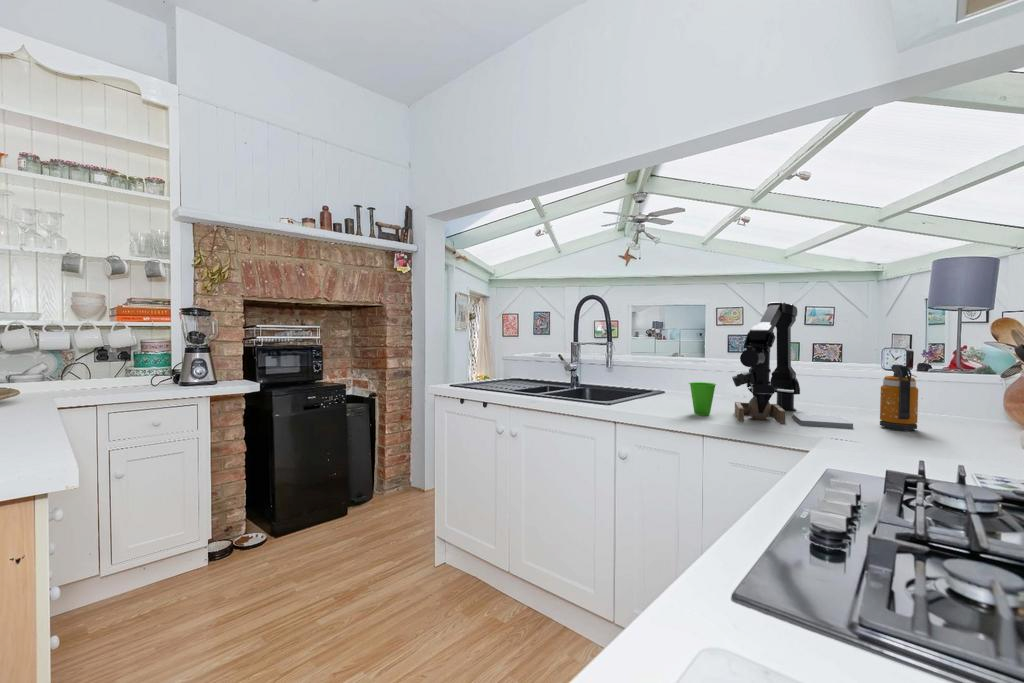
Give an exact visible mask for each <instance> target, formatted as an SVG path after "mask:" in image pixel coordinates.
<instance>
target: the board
mask: <svg viewBox="0 0 1024 683" xmlns="http://www.w3.org/2000/svg"><path fill="white" fill-rule="evenodd" d="M791 418H792V419H793V421H796V422H797V423H798V424H799V425H800V426H812V427H826V428H839V429H841V428H842V429H854V423H853V422H852V421H850V420H847V419H846V418H844V417H842V416H841V415H834V414H833V415H831V414H813V413H800V412H799V413H798V412H797V413H796V412H792V413H791Z"/></svg>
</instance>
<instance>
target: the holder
mask: <svg viewBox="0 0 1024 683" xmlns="http://www.w3.org/2000/svg"><path fill="white" fill-rule="evenodd" d="M748 404H749V402H745V401H744V402H743V401H742V402H741V401H739V402H738V401H734V414H735V416H736V418H737V420H738V421H739V420H742V422H743V421H745V415H749V412H748ZM770 406H771V412H770V415H769V417H774V419H775V420H776V421H777V422H778V423H779V424H786V412H787V410H783V409H782V408H781V407H780V406H779V405H778V404H777V403H770Z"/></svg>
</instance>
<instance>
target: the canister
mask: <svg viewBox="0 0 1024 683" xmlns="http://www.w3.org/2000/svg"><path fill="white" fill-rule="evenodd" d="M890 369H891V370H892V373H893V375H885V376H884V377H883V379H882V380H883V381H882V385H880V400H879V401H880V402H879V403H880V405H879V407H880V408H879V409H880V410H879V426H882V427H884V428H885V429H887V430H892V431H902V432H903V431H904V432H911V431H912V430H918V415H919V414H918V413H919V410H918V409H919V388H918V387H917V381H916V378H917V377H918V376H917V375H914V374H912V372H911V369H910V367H909V365H908V364H906V365H903V364H892V365H891V368H890Z"/></svg>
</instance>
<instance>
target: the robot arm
mask: <svg viewBox="0 0 1024 683" xmlns="http://www.w3.org/2000/svg"><path fill="white" fill-rule="evenodd" d="M797 316H798V308H797V307H796V306H795V305H794V304H793V303H791V304H790V303H786V302H783V301H771V302H768V303H767V306H766V309H765V312H764V314H763V315H762V317H761V319H760V320H759V323H757V324H755V325H753V326H752V327H751V328H750V329H749V331H748V332H747V334H746V338H745V341H744V344H743V349H746V350H744V351H742V352H741V355H740V357H739V360H740V363H741V364H742V365H743V366H744V367H747V368H748V372H744V373H742V372H741V373H736V375H733V376H732V381H733V383H734V387H736V388H737V387H740V386H743V385H746V387H747V390H748V391H749V392H750V393H751V394H752V398H753V397H754V396H755V397H756V399H757V405H758V411H759V413H763V411H764V409H765V407H766V406H767V404H768V402H769V403H770V400H771V398H772V397H773V395H775V393H776V404H778V405H779V406H780V407H781V408H782V409H783V410H785V411H794V412H795V411H797V408H795V395H796V396H797V395H801V387H800V383H799V380H798V378H797V373H796V372H795V370H794V369H793V367H792V358H791V357H792V355H791V354H792V342H791V341H792V340H791V339H792V338H791V334H792V333H791V332H792V331H791V329H792V327H793V325H794V324H795V323H796V320H797ZM774 329H776V335H775V332H774ZM775 340H776V367H775V369H774V370H773V371H772V373H771V368H770V366H771V365H770V364H771V363H770V360H771V348H773V345H774V343H775ZM770 373H771V378H770Z"/></svg>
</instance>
